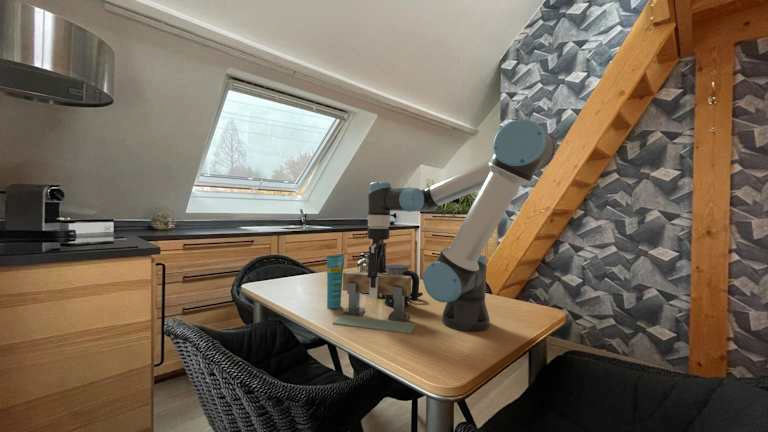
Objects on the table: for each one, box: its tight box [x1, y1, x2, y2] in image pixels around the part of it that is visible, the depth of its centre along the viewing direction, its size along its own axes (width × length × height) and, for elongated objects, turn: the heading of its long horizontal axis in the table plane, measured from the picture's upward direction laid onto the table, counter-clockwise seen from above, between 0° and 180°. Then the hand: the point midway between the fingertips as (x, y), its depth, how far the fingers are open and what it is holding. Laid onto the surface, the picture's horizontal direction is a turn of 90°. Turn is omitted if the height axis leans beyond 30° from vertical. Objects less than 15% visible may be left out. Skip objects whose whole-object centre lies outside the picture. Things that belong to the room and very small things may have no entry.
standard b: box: [342, 282, 366, 317], centre depth 118 cm, size 6×6×11 cm
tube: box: [326, 254, 346, 309], centre depth 124 cm, size 7×5×19 cm, turn 134°
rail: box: [342, 270, 412, 297], centre depth 116 cm, size 23×4×6 cm, turn 76°
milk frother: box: [384, 263, 424, 308], centre depth 133 cm, size 14×16×15 cm
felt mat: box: [332, 314, 416, 334], centre depth 107 cm, size 25×8×1 cm, turn 76°
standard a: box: [387, 287, 410, 322], centre depth 114 cm, size 6×6×11 cm
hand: (376, 294), depth 116 cm, fingers open, 7 cm apart
